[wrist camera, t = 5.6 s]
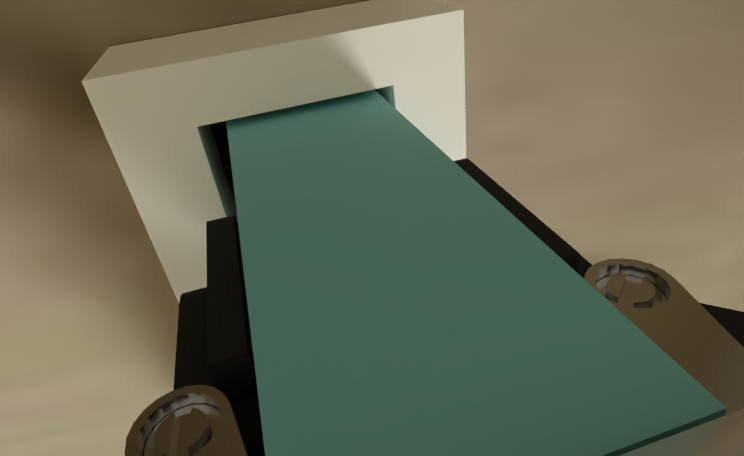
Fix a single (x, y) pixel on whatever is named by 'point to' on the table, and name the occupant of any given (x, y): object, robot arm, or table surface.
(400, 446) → the teal plug
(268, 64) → the frame
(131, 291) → the table surface
